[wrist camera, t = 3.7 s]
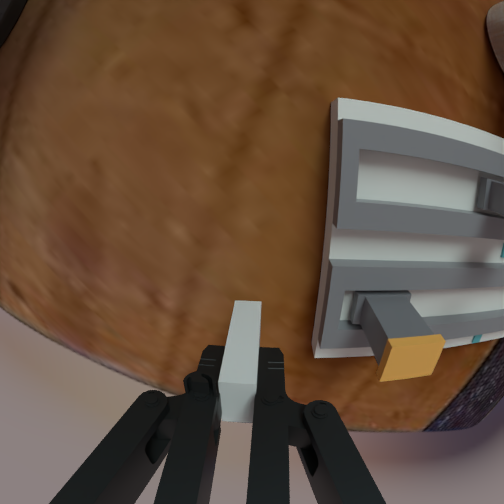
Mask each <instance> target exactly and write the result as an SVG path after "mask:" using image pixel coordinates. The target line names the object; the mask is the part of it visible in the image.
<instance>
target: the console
mask: <svg viewBox="0 0 504 504" xmlns="http://www.w3.org/2000/svg"><path fill="white" fill-rule="evenodd" d="M480 177H484V178H488V179H492V180H496V181H499V182H503V183H504V139H503V138H501V137H498V136H496V135H493V134H490V133H488V132H485V131H482V130H479V129H477V128H474V127H471V126H468V125H464V124H461V123H458V122H455V121H451V120H448V119H445V118H441V117H437V116H434V115H430V114H426V113H422V112H418V111H413V110H409V109H404V108H400V107H395V106H390V105H384V104H379V103H373V102H367V101H360V100H353V99H346V98H337V99H335V100H334V101H332V102H331V134H330V163H329V183H328V199H327V213H326V225H325V237H324V247H323V257H322V267H321V276H320V284H319V292H318V300H317V308H316V315H315V322H314V329H313V336H312V342H311V343H312V348H313V353H314V358H336V357H359V356H374V354H373V351H372V349H371V347H370V345H369V342H368V340H367V338H366V336H365V333H364V331H363V329H362V327H361V324H352V322H351V319H350V315H351V310H352V305H353V299H354V294H355V291H374V290H408V291H409V292H410V293H411V294H412V295H411V299H410V303H411V304H412V305H413V307H414V308H415V309H416V310H417V312H418V313H419V314H420V316H421V317H422V318H423V320H424V321H425V322H426V324H427V325H428V326H429V328H430V329H431V330H432V332H433V333H434V335H436V334H441V335H442V337H443V338H444V340H445V341H446V342H445V345H444V347H443V348H448V347H454V346H460V345H466V344H472V343H477V342H482V341H487V340H492V339H497V338H502V337H504V216H503V215H501V214H499V213H496V212H494V211H489V210H483V209H481V208H478V207H477V202H478V194H479V185H480Z"/></svg>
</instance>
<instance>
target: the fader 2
mask: <svg viewBox="0 0 504 504" xmlns="http://www.w3.org/2000/svg"><path fill="white" fill-rule="evenodd" d="M477 207H478V208H481V209H483V210H489V211H494V212H496V213H499V214H501V215H503V216H504V183H503V182H499V181H496V180H492V179H488V178H484V177H480V185H479V194H478V202H477Z"/></svg>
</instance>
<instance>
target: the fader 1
mask: <svg viewBox="0 0 504 504" xmlns="http://www.w3.org/2000/svg"><path fill="white" fill-rule="evenodd" d="M411 295H412V294H411V293H410V292H409V291H408V290H374V291H355V294H354V299H353V305H352V310H351V315H350V319H351V322H352V324H361V327H362V329H363V331H364V333H365V336H366V338H367V340H368V342H369V345H370V347H371V349H372V351H373V354H374V356H375V358H376V361H377V363H378V366H379V367H378V370H377V372H376V374H377V376H378V379H379V381H380V382H382V381H391V380H399V379H406V378H413V377H420V376H426V375H431V374H432V372H433V370H434V367H435V365H436V363H437V361H438V359H439V356H440V354H441V352H442V349H443V347H444V345H445V342H446V341H445V340H444V338H443V337H442V335H441V334H436V335H434V333H433V332H432V330H431V329H430V328H429V326H428V325H427V324H426V322H425V321H424V320H423V318H422V317H421V316H420V314H419V313H418V312H417V310H416V309H415V308H414V307H413V305H412V304H411V303H410V299H411Z"/></svg>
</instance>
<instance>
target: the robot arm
mask: <svg viewBox="0 0 504 504" xmlns="http://www.w3.org/2000/svg"><path fill="white" fill-rule="evenodd" d="M25 3H26V0H0V47H1V45H2V44H3V42H4V41H5V39H6V37H7V36H8V34H9V33H10V31H11V29H12V28H13V26H14V24H15V22H16V21H17V19H18V17H19V15H20V13H21V11H22V9H23V7H24V5H25ZM260 325H261V301H236V300H235V304H234V309H233V313H232V318H231V323H230V327H229V332H228V337H227V342H226V346H216V345H208V346H207V347H206V348H205V349H204V350H203V352H202V356H201V359H200V362H199V365H198V369H197V371H196V372H193V373H190V374H188V375H187V376H186V377H185V378H184V380H183V381H184V387H185V391H186V393H184V394H182V395H178V396H171V397H166V396H165V394H164V393H162V392H160V391H157V390H149V391H146V392H143V393H142V394H141V395H140V396H139V397H138V398H137V399H136V401H135V402H134V403H133V404H132V405H131V406H130V408H129V409H128V410H127V411H126V413H125V414H124V415H123V416H122V417H121V419H120V420H119V421H118V422H117V423H116V424H115V426H114V427H113V428H112V429H111V431H110V432H109V433H108V434H107V435H106V436H105V438H104V439H103V440H102V441H101V442H100V444H99V445H98V446H97V447H96V448H95V450H94V451H93V452H92V453H91V454H90V456H89V457H88V458H87V459H86V460H85V462H84V463H83V464H82V465H81V466H80V468H79V469H78V470H77V471H76V472H75V473H74V475H73V476H72V477H71V478H70V479H69V480H68V482H67V483H66V484H65V485H64V487H63V488H62V489H61V490H60V491H59V492H58V493H57V495H56V496H55V497H54V498H53V499H52V501H51V502H50V503H49V504H134V503H135V502H136V500H137V499H138V497H139V496H140V494H141V493H142V492H143V490H144V488H145V487H146V485H147V484H148V482H149V481H150V479H151V478H152V476H153V475H154V473H155V472H156V470H157V469H158V467H159V466H160V464H161V462H162V461H163V459H164V458H165V456H166V455H167V453H168V455H167V458H166V462H165V466H164V469H163V472H162V476H161V479H160V483H159V486H158V490H157V494H156V497H155V501H154V504H209V501H210V494H211V488H212V482H213V476H214V470H215V463H216V457H217V451H218V445H219V439H220V433H221V428H220V422H221V417H222V421H229V422H242V423H253V426H252V427H253V428H252V440H251V453H250V465H249V477H248V489H247V502H246V504H290V502H289V501H290V500H289V498H290V495H289V448H288V447H289V445H291V446H296V447H297V450H298V453H299V455H300V458H301V461H302V464H303V466H304V469H305V472H306V474H307V477H308V479H309V482H310V485H311V487H312V490H313V493H314V495H315V498H316V500H317V503H318V504H386V502H385V501H384V499H383V497H382V495H381V493H380V491H379V489H378V487H377V485H376V484H375V482H374V480H373V478H372V476H371V474H370V472H369V470H368V469H367V467H366V465H365V463H364V461H363V459H362V457H361V456H360V453H359V452H358V450H357V448H356V446H355V444H354V442H353V440H352V438H351V437H350V435H349V433H348V431H347V429H346V427H345V425H344V423H343V421H342V420H341V418H340V416H339V414H338V412H337V410H336V408H335V407H334V406H333V405H332V404H331V403H329V402H327V401H323V400H316V401H313V402H310V403H309V404H308V405H304V404H300V403H297V402H294V401H293V400H291V399H290V398H289V397H288V396H287V394H286V392H285V377H284V356H283V353H282V352H281V350H280V349H279V348H266V347H260Z"/></svg>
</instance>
